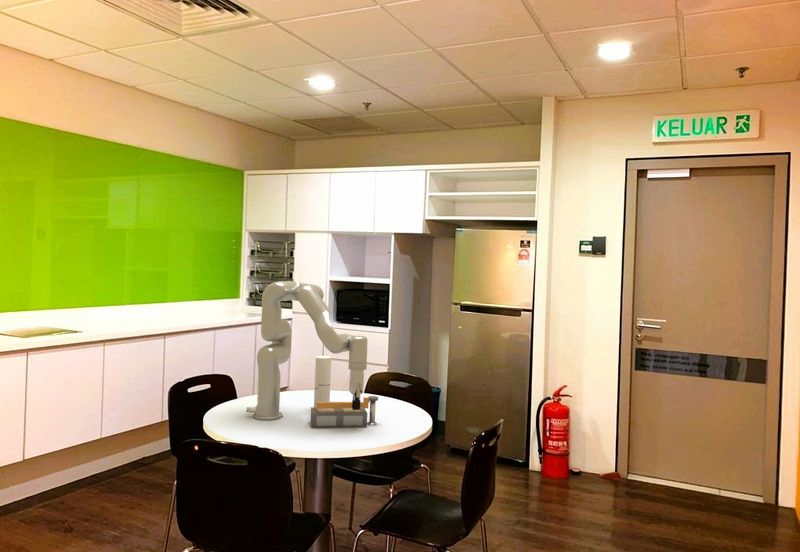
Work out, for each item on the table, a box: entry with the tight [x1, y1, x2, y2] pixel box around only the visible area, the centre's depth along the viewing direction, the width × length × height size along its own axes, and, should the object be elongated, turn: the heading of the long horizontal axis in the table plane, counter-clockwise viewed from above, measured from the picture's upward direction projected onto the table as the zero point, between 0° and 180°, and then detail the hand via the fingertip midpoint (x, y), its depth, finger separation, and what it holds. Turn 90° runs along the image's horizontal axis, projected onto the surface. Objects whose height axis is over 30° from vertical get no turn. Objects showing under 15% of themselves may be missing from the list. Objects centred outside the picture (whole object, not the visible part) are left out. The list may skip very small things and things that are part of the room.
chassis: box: [310, 406, 368, 429], centre depth 256 cm, size 23×11×6 cm, turn 101°
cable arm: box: [316, 395, 379, 409], centre depth 257 cm, size 26×4×5 cm, turn 101°
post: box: [367, 401, 378, 426], centre depth 259 cm, size 4×4×10 cm
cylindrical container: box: [313, 355, 332, 407], centre depth 279 cm, size 7×7×25 cm
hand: (356, 409), depth 252 cm, fingers closed
